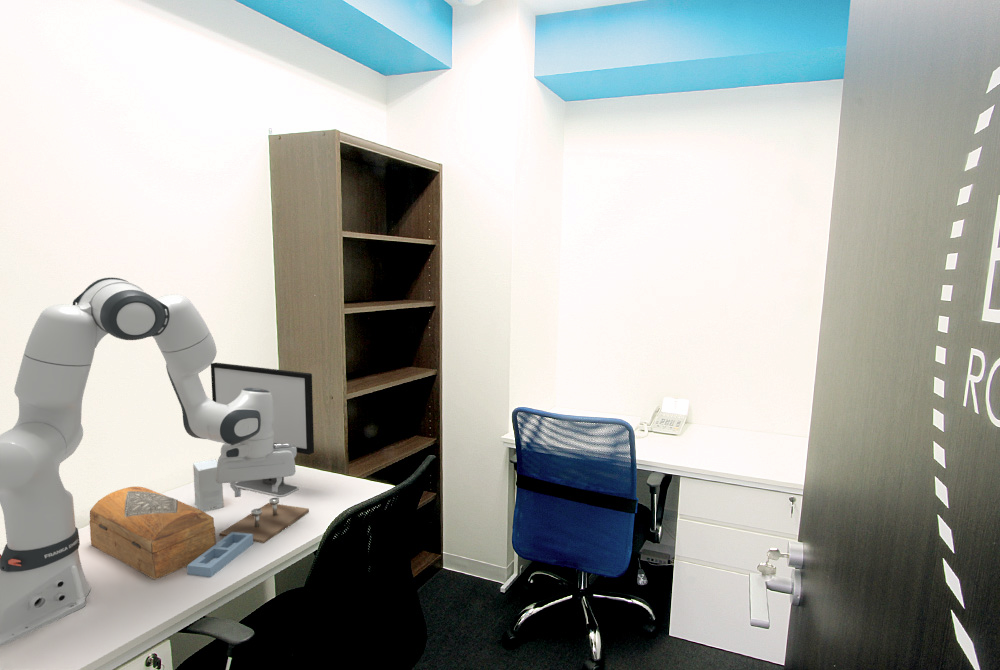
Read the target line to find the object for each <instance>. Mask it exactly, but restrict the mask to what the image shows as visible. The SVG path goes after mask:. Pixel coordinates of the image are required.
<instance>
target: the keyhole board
mask: <svg viewBox="0 0 1000 670" xmlns="http://www.w3.org/2000/svg"><path fill="white" fill-rule="evenodd" d="M259 509H262V514H261V515H259V525H260V526H259V527H255V519H254V516H252V515H251V513H250V514H248V515H246V516H245V517H243V518H241V519H240V520H238V521H237V522H235V523H233V524H231V525H230V526H228V527H227V528H225V529H224V530H222V531H221V532H219V533H218V535H219V536H221V537H226V536H227V535H228V534H230V533H231V532H238V533H248V534H253V543H261V544H265V543H267V542H268V541H270V540H271V539H272V538H274V537H275V536H277V535H278V534H280V533H281V532H283V531H285V530H286V529H288V528H289V527H290V526H291V525H293V524H294V523H296V522H298V520H300V519H301V518H302V517H305V515H307V514H308V513H309V512H310V508H307V507H299V506H292V505H287V504H286V505H285V504H279V503H278V504H277V515H275V516H273V512H272V505H271V504H270V502H267V503H266V504H265V505H262V506H261V507H259ZM288 526H289V527H288ZM285 528H286V529H285ZM282 530H283V531H282Z"/></svg>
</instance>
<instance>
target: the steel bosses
mask: <svg viewBox="0 0 1000 670" xmlns="http://www.w3.org/2000/svg"><path fill="white" fill-rule="evenodd" d="M268 501H269V502H268V503H270V504H271V505H272V512H273V516H275V515H277V504H279V503H280V497H272V498H270V499H269V500H268ZM259 508H260V507H259ZM259 508H254V509H252V510H251V513H250V514H251V515H252V516H254V519H255V527H259V526H260V525H259V515H261V514H262V509H259Z"/></svg>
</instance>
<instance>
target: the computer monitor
mask: <svg viewBox="0 0 1000 670" xmlns="http://www.w3.org/2000/svg"><path fill="white" fill-rule="evenodd" d="M210 376H211V377H210V379H211V393H212V395H211V398H212V399H211V400H212V401H214V402H217V403H220V404H224V405H227V404H229V403H231V402H233V401H234V400H235V399H236V398H237V397H238V396H239V395H240V394H241V391H242V390H243V389H245V388H256V389H264V390H267V391H269V392H270V393H271V395H272V398H273V404H274V421H273V425H272V428H273V432H274V444H286V443H291V444H292V445H295V446H296V448H297V454H303V455H309V456H310V455H312V454H314V453H315V446H314V445H315V442H314V441H315V440H314V437H315V436H314V409H313V408H314V403H313V402H314V400H313V399H314V398H313V374H312V373H309V372H301V371H295V370H287V369H286V370H284V369H276V368H269V367H268V368H267V367H266V368H265V367H258V366H249V365H239V364H231V363H223V362H212V364H211V365H210ZM291 447H292V446H291ZM284 480H285V477H282V482H281V483H280V485H279V486H278V492H276V493H272V485H275V484H276V482H277V479H276V478H269V479H259V480H250V481H240V482H236V485H235V486H236V487H237V489H241V490H246V491H250V492H255V493H259V494H263V495H267V496H272V497H275V498H283V497H286V496H289V495H291V494H293V493H295V492H296V491H299V486H297V485H294V484H289V483H285V481H284Z"/></svg>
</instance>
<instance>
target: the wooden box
mask: <svg viewBox="0 0 1000 670" xmlns="http://www.w3.org/2000/svg"><path fill="white" fill-rule="evenodd" d="M214 521H215V520H214V517H213V516H211V515H210V514H208V513H206V511H205V512H203V511H201V510H199V509H198V508H197V507H194V506H192V505H189V504H187V503H185V502H182V501H180V500H178V499H176V498H174V497H170V496H168V495H165V494H162V493H160V492H157V491H154V490H152V489H149V488H147V487H142V486H129V487H124V488H121V489H117V490H115V491H113V492H110V493H108V494H107V495H105V496H103V497H101V498H100V499H99V500H98V501H97V502H95V504H94V505H93V506H92V507H91V509H90V511H89V529H90V530H89V532H90V543H91V546H92V547H94V548H96V549H98V550H99V551H101V552H104V553H105V554H107V555H109V556H112V557H113V558H115V559H117V560H119V561H120V562H122V563H124V564H126V565H127V566H130V567H131V568H133V569H135V570H137V571H138V572H141V573H142V574H145V575H146V576H148V577H150V578H152V579H154V580H158V579H161V578H163V577H164V576H165V577H166V576H167V575H169V574H171V573H174V572H177V571H178V570H179V571H180V570H181V569H183V568H185V567H186V568H187V565H188V564H190V563H191V562H192V561H194V560H195V559H196V558H198V557H199V556H200V555H202V554H203V553H204V552H206V551H207V550H208V549H210V548H211V547H212V546H214V545H215V544H216V543H217V541H216V540H217V538H216V526H215V522H214Z"/></svg>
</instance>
